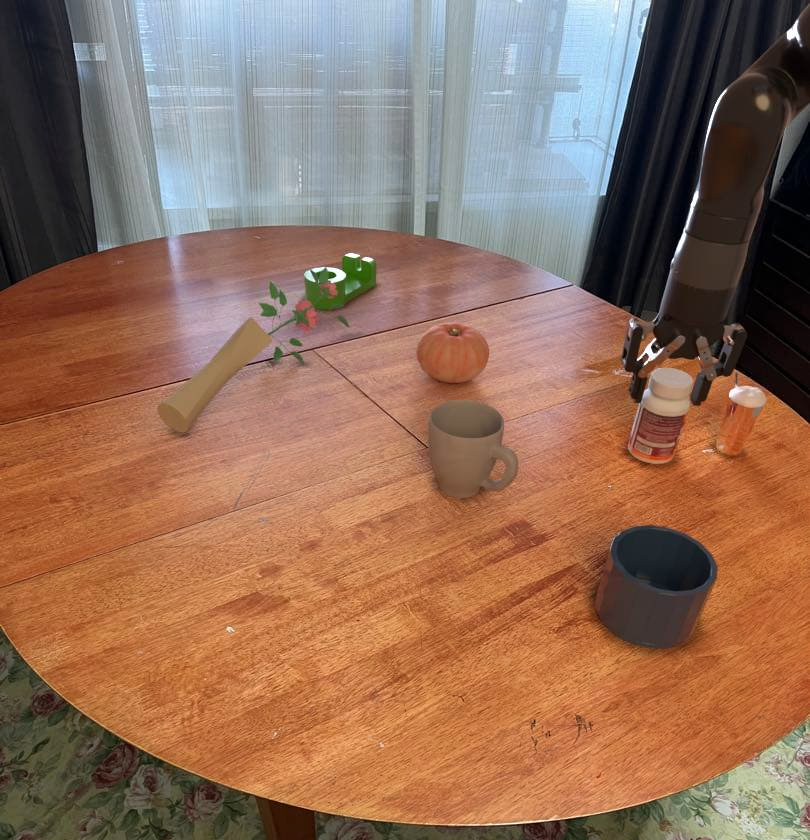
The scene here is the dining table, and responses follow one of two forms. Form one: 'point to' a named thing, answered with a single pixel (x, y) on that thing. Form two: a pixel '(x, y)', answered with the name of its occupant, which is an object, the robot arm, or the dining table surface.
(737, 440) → the milkshake
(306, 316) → the flower vase
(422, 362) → the pumpkin
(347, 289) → the tape dispenser
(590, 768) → the dining table surface
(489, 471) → the mug
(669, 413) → the pill bottle
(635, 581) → the pen holder
